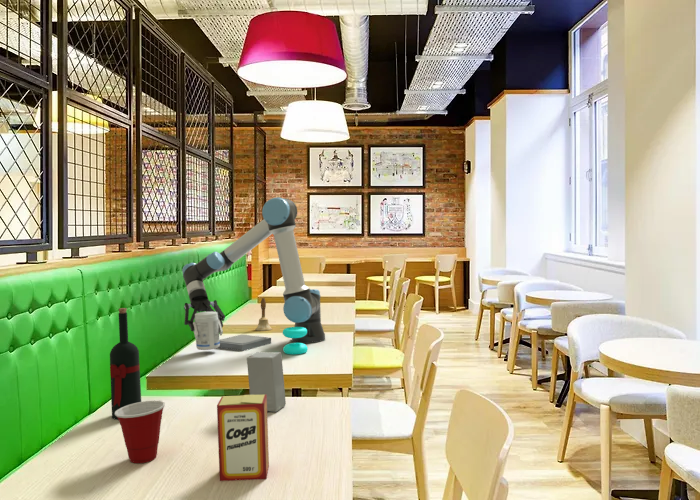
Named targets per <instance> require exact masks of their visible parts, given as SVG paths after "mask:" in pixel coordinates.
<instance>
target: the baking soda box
mask: <svg viewBox="0 0 700 500" xmlns="http://www.w3.org/2000/svg"><path fill="white" fill-rule="evenodd" d="M216 415H217V417H216V418H217V441H218V445H217V446H218V466H219V467H218V469H219V470H218V471H219V473H218V474H219V482H229V481H231V482H233V481H250V480H252V481H253V480H267V478H268V473H269V467H270V459H269V458H270V457H269V455H270V454H269V425H268V422H269V421H268V411H267V394H265V395H250V394H244V395H226V396H225V395H223V396H221V398H220V399H219V401H218V403H217V405H216Z"/></svg>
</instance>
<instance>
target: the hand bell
mask: <svg viewBox="0 0 700 500" xmlns="http://www.w3.org/2000/svg"><path fill="white" fill-rule="evenodd" d="M266 306H267V302H266V299H265V297H262V298H261V301H260V308H261V309H260V310H261V317H260V318H259V319H258V323H257V324H258V325H257V326H256V328H255V331H260V332H261V331H263V332H264V331H271V330H273V328H272V327H271V326H270V324H269V318H267V317H266Z"/></svg>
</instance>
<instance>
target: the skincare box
mask: <svg viewBox="0 0 700 500" xmlns="http://www.w3.org/2000/svg"><path fill="white" fill-rule="evenodd" d="M246 364H247V365H246V367H247V375H248V387H249V395H265V394H267V412H276V413H277V412H278V411H280V410H281V409H283V408H284V407H286V405H287V401H286V392H285V391H286V390H285V378H284V365H283V357H282V351H281V352H279V351H277V352H272V351H271V352H269V351H268V352H267V351H265V352H264V351H256V352H254V353H253V354H251V355H249V356H247V357H246Z"/></svg>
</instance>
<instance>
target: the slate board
mask: <svg viewBox="0 0 700 500" xmlns="http://www.w3.org/2000/svg"><path fill="white" fill-rule="evenodd" d="M219 340H220V346H219V347H218V348H217V349H225V350H232V351H239V350H240V351H241V352H243V351H244V350H245V351H248V350H251V349H256V348H258V347H259V348H260V347H262V346H263V347H264V346H267V345H271V344H272V337H267V336H259V335H249V334H248V335H247V334H237V335H235V336H229V337H225V338H219ZM247 349H248V350H247Z"/></svg>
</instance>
